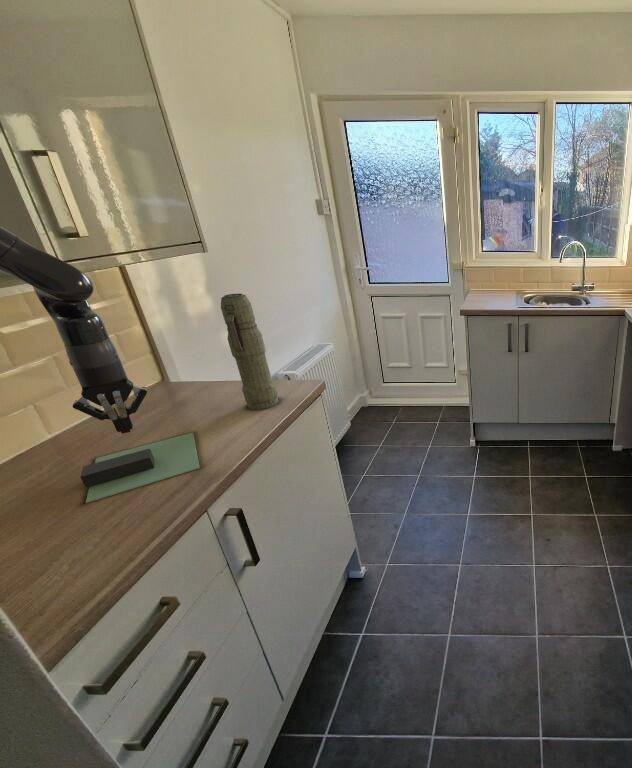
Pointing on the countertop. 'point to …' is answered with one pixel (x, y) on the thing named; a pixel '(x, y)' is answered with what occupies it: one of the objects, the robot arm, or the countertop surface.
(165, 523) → the countertop surface
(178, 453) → the mat
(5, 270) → the robot arm
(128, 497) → the countertop surface
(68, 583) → the countertop surface
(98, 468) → the dark grey tall block
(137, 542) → the countertop surface
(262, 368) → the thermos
